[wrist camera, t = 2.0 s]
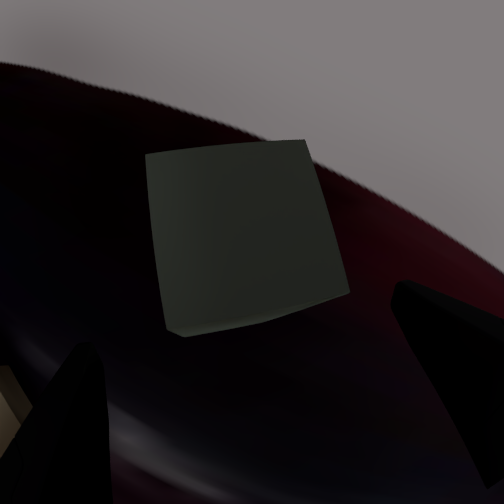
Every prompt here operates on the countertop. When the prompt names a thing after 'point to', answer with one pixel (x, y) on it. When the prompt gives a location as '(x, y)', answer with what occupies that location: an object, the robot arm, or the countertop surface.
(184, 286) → the sage block
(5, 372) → the oak block
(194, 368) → the countertop surface
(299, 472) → the countertop surface
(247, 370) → the countertop surface
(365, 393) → the countertop surface
